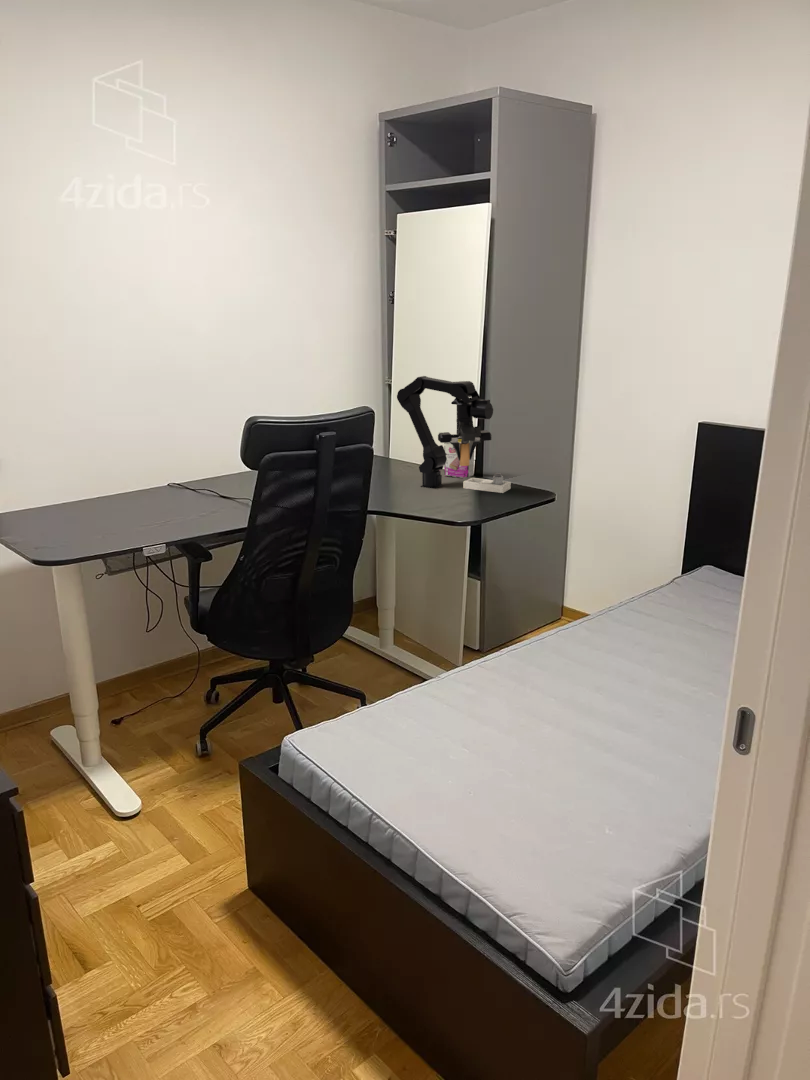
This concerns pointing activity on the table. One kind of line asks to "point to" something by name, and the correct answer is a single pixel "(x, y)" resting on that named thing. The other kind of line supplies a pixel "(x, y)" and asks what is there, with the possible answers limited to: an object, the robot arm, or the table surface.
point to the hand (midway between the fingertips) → (464, 459)
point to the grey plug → (498, 479)
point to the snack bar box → (456, 463)
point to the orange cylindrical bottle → (464, 453)
